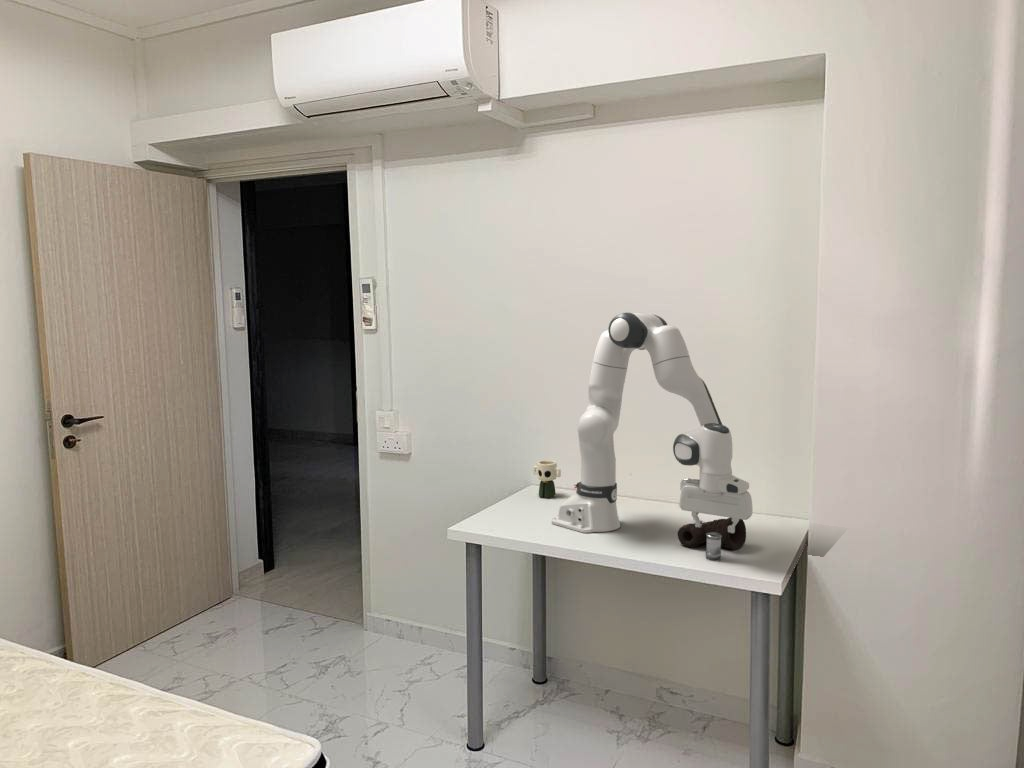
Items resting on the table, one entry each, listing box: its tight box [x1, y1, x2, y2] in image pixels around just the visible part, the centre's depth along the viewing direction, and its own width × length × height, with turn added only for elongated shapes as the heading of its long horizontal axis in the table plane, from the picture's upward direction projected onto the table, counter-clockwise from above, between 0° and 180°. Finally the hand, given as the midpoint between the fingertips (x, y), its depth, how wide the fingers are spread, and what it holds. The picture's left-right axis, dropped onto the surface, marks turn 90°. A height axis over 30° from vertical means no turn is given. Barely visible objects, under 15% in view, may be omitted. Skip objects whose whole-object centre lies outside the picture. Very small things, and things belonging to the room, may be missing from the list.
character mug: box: [533, 459, 562, 498], centre depth 286 cm, size 11×7×13 cm, turn 63°
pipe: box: [677, 517, 747, 551], centre depth 231 cm, size 10×15×15 cm
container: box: [705, 532, 722, 562], centre depth 219 cm, size 4×4×7 cm
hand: (714, 529), depth 218 cm, fingers open, 8 cm apart
